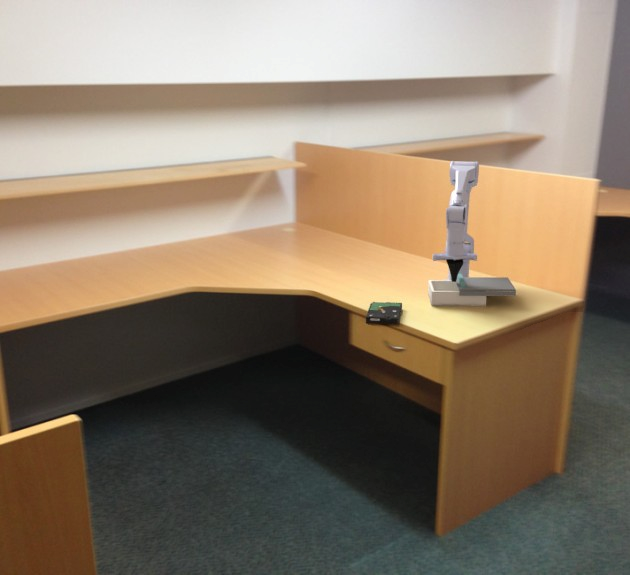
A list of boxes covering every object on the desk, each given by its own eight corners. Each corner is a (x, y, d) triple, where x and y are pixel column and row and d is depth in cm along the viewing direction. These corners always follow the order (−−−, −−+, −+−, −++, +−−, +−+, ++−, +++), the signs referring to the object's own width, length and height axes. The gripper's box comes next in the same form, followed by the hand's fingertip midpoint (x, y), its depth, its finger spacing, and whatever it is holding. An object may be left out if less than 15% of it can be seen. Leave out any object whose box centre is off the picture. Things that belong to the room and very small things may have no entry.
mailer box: (428, 293, 242) (428, 280, 240) (479, 293, 241) (480, 280, 239) (431, 305, 230) (431, 291, 228) (485, 306, 229) (486, 291, 227)
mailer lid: (454, 282, 241) (454, 271, 240) (507, 282, 240) (507, 271, 239) (459, 295, 227) (459, 284, 226) (515, 295, 226) (516, 284, 225)
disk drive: (399, 326, 214) (402, 310, 228) (399, 318, 213) (402, 302, 227) (365, 325, 216) (370, 308, 230) (365, 316, 215) (370, 300, 229)
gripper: (434, 244, 226) (433, 284, 230) (479, 244, 225) (477, 284, 229) (432, 239, 233) (431, 278, 237) (476, 239, 232) (474, 278, 236)
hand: (453, 280), depth 233 cm, fingers closed
